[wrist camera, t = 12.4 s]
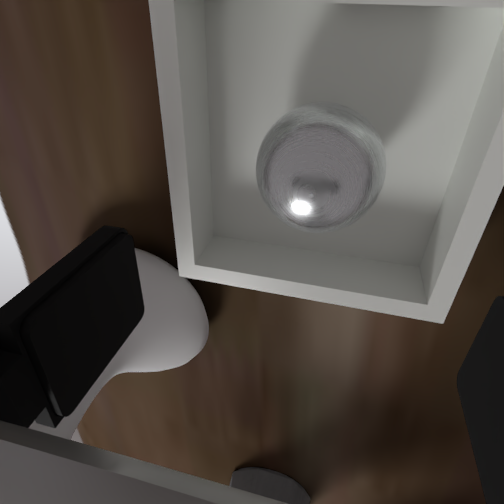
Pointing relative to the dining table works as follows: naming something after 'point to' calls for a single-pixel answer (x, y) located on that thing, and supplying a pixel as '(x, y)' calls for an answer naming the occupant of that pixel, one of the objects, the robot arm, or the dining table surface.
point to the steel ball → (321, 167)
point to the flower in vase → (151, 333)
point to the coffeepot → (269, 485)
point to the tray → (356, 97)
